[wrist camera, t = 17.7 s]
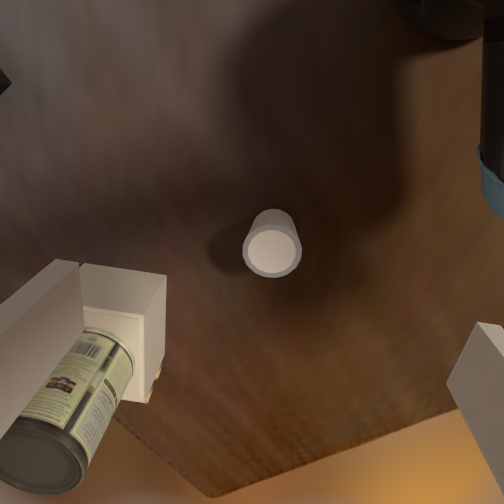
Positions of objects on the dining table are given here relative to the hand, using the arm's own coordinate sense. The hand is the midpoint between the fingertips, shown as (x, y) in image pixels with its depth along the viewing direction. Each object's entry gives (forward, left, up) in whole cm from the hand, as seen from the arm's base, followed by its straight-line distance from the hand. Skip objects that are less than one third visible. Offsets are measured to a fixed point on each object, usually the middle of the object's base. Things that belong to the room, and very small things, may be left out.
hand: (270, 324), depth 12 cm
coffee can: (+19, +28, -25) cm, 42 cm away
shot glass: (-1, +11, -35) cm, 37 cm away
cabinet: (+19, +28, -35) cm, 48 cm away
